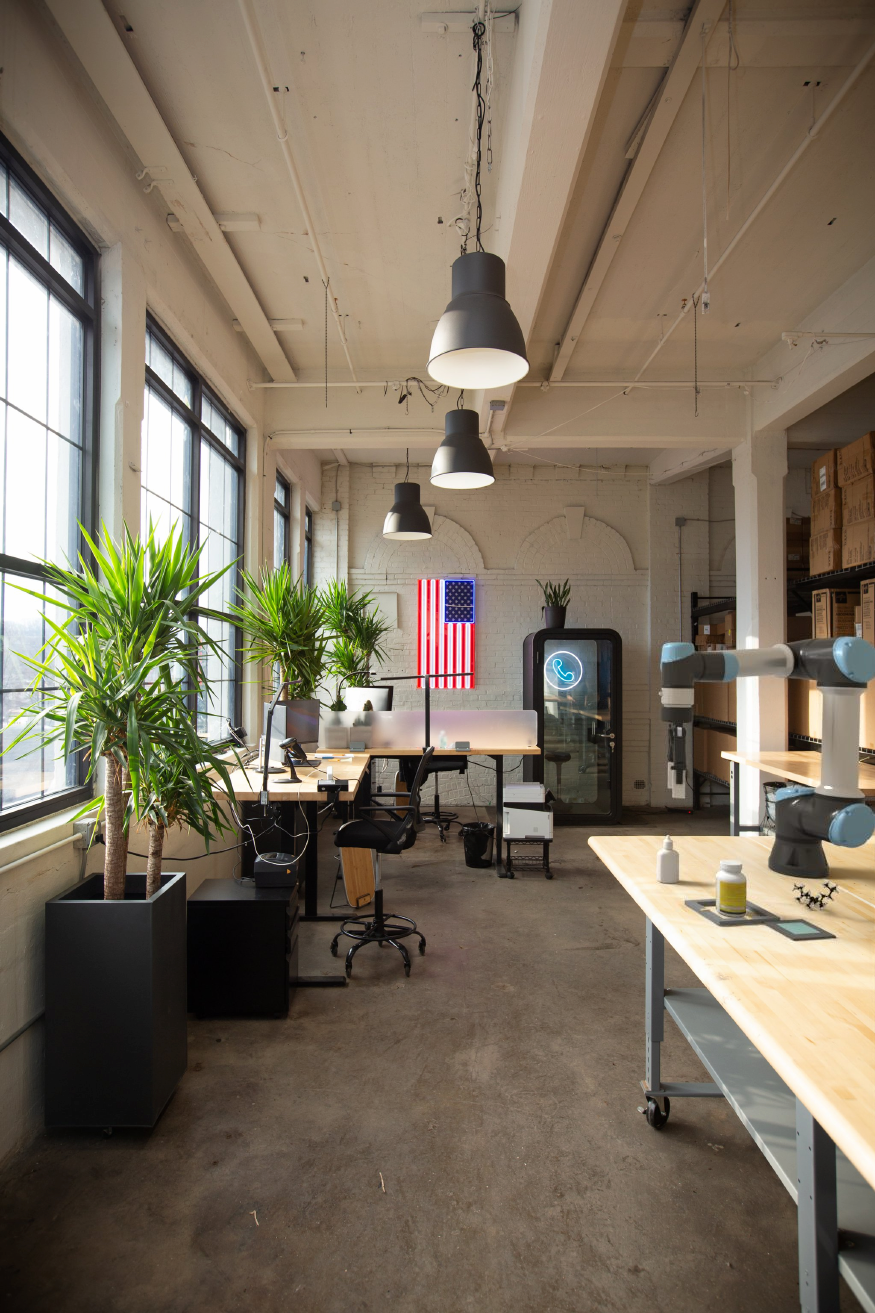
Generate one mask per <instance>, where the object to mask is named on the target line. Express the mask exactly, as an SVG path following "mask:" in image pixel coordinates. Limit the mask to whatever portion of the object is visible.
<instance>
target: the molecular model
mask: <svg viewBox="0 0 875 1313" xmlns="http://www.w3.org/2000/svg"><path fill="white" fill-rule="evenodd" d="M792 882H793V881H792ZM830 883H831V881H830V880H827V881H826V883H823V882H822V883H821V886H822V887H823V888H824V889H826V888H827V889H828V890H829V893H828V894H827V895H826V893H824V894H823V893H822V892H821V891H818V894H816V896H815V897H814V896H813V895H812V893H811V890H810V889H808V890H807V892H804V890H803V889H804V888H805V887H806V885H805V884H801V885H800V886H798V885H797V884H796V882H793V883H792V884H793V886H794V887H793V888H792V889H791V892H794V891H795V890H798V891H799V893H800V895H799V896H798V897H796V896H794V897H793V898H794V900H795V901H798V903H799V904H800V905H802V904H803V903H802V901H801V899H803V900H805V901H806V900H809V901H808V903H806V904H805V903H804V904H803V906H804V908H806V907H807V908H808V909H809V911H813V910H814V909H813V908H815V907H816V904H817V905H818V906H819V907H818V910H820V911H824V908H825V907H826V906H827V905H828V904H829V903H828V902H827V901H826V902H823V899H825V898H826V900H828V899H830V900H831V901H832V902H835V899H834V898H833V897H832V894H833V893H837V894H839V893H840V891H838V890H837V887H838V886H839V884H838V883H836V884H835V885H834V886H829V884H830ZM811 895H812V896H811ZM819 899H820V900H819ZM812 903H813V904H812ZM811 904H812V907H811Z"/></svg>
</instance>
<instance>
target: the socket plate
mask: <svg viewBox="0 0 875 1313" xmlns="http://www.w3.org/2000/svg"><path fill="white" fill-rule="evenodd" d="M684 906H686V907H688V908H690V909H691V910H693V911H694V912H695V913H698V914H699V915H701V916H702V917H703V918H706V919H707V920H709V921H710V922H713V923H714V924H715V925H717V926H718V927H725V926H741V925H744V926H745V925H756V924H757V925H758V924H763V923H762V921H778V920H782V919H781V917H780V916H778V915H776V914H774V913H773V912H771V911H769V910H767V909H765V908H763V907H761V906H760V905H757V904H755V903H753V902H752V901H749V900H747V899H746V910H748V911H750V912H752V913H754V914H756V916H748V915H744V916H742V917H729V918H728V917H727V918H725V917H722V916H720V915H718V914H716V913H715V912H713V911H712V910H711V909H710V908H707V906H716V898H705V899H685V900H684ZM757 915H758V916H757Z"/></svg>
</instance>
